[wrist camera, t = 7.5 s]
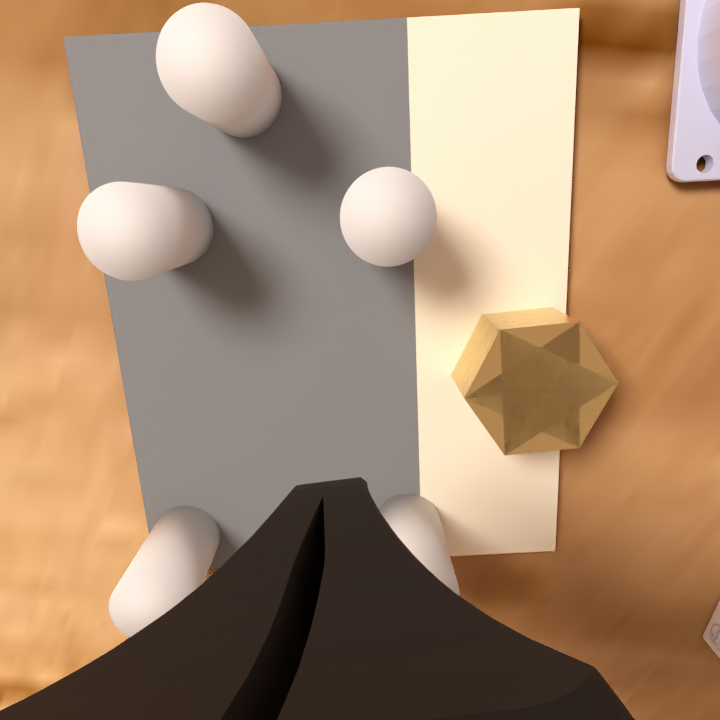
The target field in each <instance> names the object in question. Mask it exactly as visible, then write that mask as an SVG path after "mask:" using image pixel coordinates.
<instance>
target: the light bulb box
mask: <svg viewBox="0 0 720 720" xmlns="http://www.w3.org/2000/svg"><path fill="white" fill-rule="evenodd" d="M702 637H703V639H704V640H705V642H706V643H707V644H708V645H709V647H710V648H711V649H712V650H713V652H714V653H715V654H716V655H717V656H718V657H719V659H720V600H719V602H718V604H717V606H716V608H715V610H714V613H713V615H712V617H711V619H710V621H709V623H708V625H707V627H706V629H705V631H704V634H703V636H702Z"/></svg>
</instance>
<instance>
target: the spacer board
mask: <svg viewBox="0 0 720 720" xmlns="http://www.w3.org/2000/svg"><path fill="white" fill-rule="evenodd" d="M579 9H580V8H571V9H553V10H536V11H518V12H500V13H482V14H465V15H447V16H429V17H411V18H393V19H376V20H358V21H340V22H322V23H304V24H287V25H269V26H251V27H248V26H247V24H246V23H245V22H244V21H243V20H242V19H241V18H240V17H239V16H238V15H237V14H235V13H234V12H232V11H231V10H229V9H227V8H225V7H223V6H220V5H217V4H212V3H197V4H192V5H189V6H186V7H184V8H182V9H180V10H179V11H177V12H176V13H175V14H174V15H173V16H171V17H170V19H169V20H168V21H167V22H166V24H165V25H164V27H163V28H162V31H161V32H144V33H127V34H109V35H91V36H73V37H63V39H64V44H65V50H66V56H67V62H68V68H69V73H70V79H71V85H72V91H73V97H74V102H75V108H76V114H77V120H78V126H79V131H80V137H81V143H82V149H83V154H84V160H85V166H86V172H87V178H88V183H89V189H90V194H89V195H88V197H87V198H86V199H85V201H84V202H83V204H82V206H81V208H80V211H79V214H78V220H77V232H78V237H79V241H80V244H81V247H82V249H83V251H84V253H85V254H86V256H87V257H88V259H89V260H90V261H91V262H92V263H93V264H94V265H95V266H96V267H97V268H98V269H99V270H101V271H102V272H103V273H104V276H105V282H106V288H107V293H108V299H109V305H110V311H111V317H112V322H113V328H114V334H115V340H116V345H117V351H118V357H119V363H120V369H121V374H122V380H123V386H124V392H125V398H126V403H127V409H128V415H129V421H130V426H131V432H132V438H133V444H134V450H135V455H136V461H137V467H138V473H139V479H140V484H141V490H142V496H143V502H144V508H145V513H146V519H147V525H148V531H149V535H148V537H147V538H146V540H145V541H144V543H143V545H142V546H141V548H140V549H139V551H138V553H137V554H136V556H135V557H134V559H133V561H132V562H131V564H130V565H129V567H128V569H127V570H126V572H125V573H124V575H123V577H122V578H121V580H120V581H119V583H118V585H117V586H116V588H115V589H114V591H113V593H112V595H111V597H110V601H109V612H110V616H111V618H112V621H113V622H114V624H115V625H116V627H117V628H118V629H119V630H120V631H121V632H122V633H124V634H125V635H126V636H128V637H131V636H133V635H134V634H136V633H137V632H139V631H140V630H142V629H143V628H144V627H146V626H147V625H149V624H150V623H152V622H153V621H155V620H156V619H158V618H159V617H161V616H162V615H163V614H165V613H166V612H168V611H169V610H170V609H172V608H173V607H174V606H176V605H177V604H178V603H179V602H180V601H182V600H183V599H184V598H185V597H187V596H188V595H189V594H190V593H192V592H193V591H194V590H195V589H197V588H198V587H199V586H200V585H201V584H203V583H204V581H205V578H206V576H207V573H208V571H209V569H219V568H220V567H221V566H222V565H223V564H224V563H225V562H226V561H227V560H228V559H229V558H230V557H231V556H232V555H233V554H234V553H235V552H236V551H237V550H238V549H239V548H240V547H241V546H242V545H243V544H245V543H246V542H247V541H248V540H249V539H250V537H251V536H252V535H253V534H254V533H255V532H256V531H257V530H258V529H259V527H260V526H261V525H262V524H263V523H264V522H265V521H266V520H267V519H268V517H269V516H270V515H271V514H272V513H273V512H274V511H275V509H276V508H277V507H278V506H279V505H280V503H281V502H282V501H283V500H284V499H285V498H286V496H287V495H288V494H289V493H290V492H291V491H292V489H293V488H294V487H295V486H296V485H301V484H309V483H317V482H325V481H333V480H341V479H349V478H357V477H361V478H363V479H364V480H365V481H366V482H367V484H368V489H369V492H370V494H371V497H372V499H373V500H374V502H375V504H376V506H377V508H378V509H379V511H380V512H381V514H382V516H383V517H384V518H385V520H386V521H387V523H388V524H389V525H390V527H391V528H392V530H393V531H394V532H395V534H396V535H397V536H398V537H399V539H400V540H401V541H402V542H403V543H404V544H405V546H406V547H407V548H408V549H409V550H410V551H411V552H412V554H413V555H414V556H415V557H416V558H417V559H418V560H419V561H420V562H421V563H422V564H423V565H424V566H425V567H426V568H427V569H428V570H429V571H430V572H431V573H433V574H434V575H435V576H436V577H437V578H438V579H439V580H440V581H441V582H443V583H444V584H445V585H446V586H447V587H449V588H450V589H451V590H452V591H454V592H455V593H456V594H457V595H458V596H460V591H459V586H458V582H457V578H456V575H455V571H454V568H453V564H452V560H451V557H450V556H467V555H486V554H504V553H523V552H542V551H555V547H556V525H557V502H558V480H559V458H560V450H556V451H546V452H536V453H526V454H516V455H506V456H505V455H504V454H503V452H502V451H501V450H500V448H499V447H498V445H497V444H496V443H495V441H494V440H493V438H492V437H491V436H490V434H489V433H488V431H487V430H486V429H485V427H484V426H483V424H482V423H481V422H480V420H479V419H478V417H477V416H476V415H475V413H474V412H473V410H472V409H471V408H470V406H469V405H468V403H467V402H466V401H465V399H464V398H463V396H462V394H461V392H460V391H459V389H458V387H457V385H456V384H455V382H454V380H453V378H452V377H451V374H452V372H453V370H454V368H455V366H456V364H457V362H458V360H459V358H460V356H461V354H462V352H463V350H464V348H465V346H466V344H467V342H468V340H469V338H470V336H471V334H472V333H473V331H474V329H475V327H476V325H477V323H478V321H479V319H480V317H481V315H482V314H489V313H499V312H508V311H518V310H528V309H537V308H547V307H552V308H554V309H556V310H558V311H560V312H562V313H564V314H566V300H567V278H568V255H569V233H570V211H571V188H572V166H573V143H574V121H575V98H576V76H577V53H578V31H579Z"/></svg>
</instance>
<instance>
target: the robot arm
mask: <svg viewBox="0 0 720 720" xmlns="http://www.w3.org/2000/svg"><path fill="white" fill-rule="evenodd" d="M701 156H702V157H703V158H704V159H705V162H706V165H705V168H704V170H703V171H702V172H699V171H698V170H697V167H696V163H697V160H698V159H699V158H700V157H701ZM666 169H667V174H668V176H669V177H670V178H671V179H672V180H673V181H676V182H695V181H713V180H720V0H681V1H680V13H679V25H678V36H677V48H676V59H675V71H674V83H673V94H672V106H671V117H670V129H669V140H668V152H667V164H666ZM0 720H634V718H633V717H632V716H631V714H630V713H629V711H628V710H627V709H626V707H625V706H624V704H623V703H622V702H621V700H620V699H619V698H618V697H617V695H616V694H615V693H614V691H613V690H612V689H611V687H610V686H609V685H608V683H607V682H606V681H605V679H604V678H603V677H602V676H601V674H600V673H599V672H598V671H597V670H596V669H595V668H594V667H593V666H591V665H588V664H586V663H584V662H581V661H579V660H577V659H575V658H572V657H570V656H568V655H565V654H563V653H561V652H559V651H556V650H554V649H552V648H549V647H547V646H545V645H543V644H540V643H538V642H536V641H533V640H531V639H529V638H527V637H525V636H523V635H521V634H520V633H518V632H516V631H514V630H512V629H511V628H509V627H507V626H505V625H503V624H502V623H500V622H498V621H496V620H494V619H493V618H491V617H489V616H488V615H486V614H485V613H483V612H482V611H480V610H479V609H477V608H476V607H475V606H473V605H472V604H470V603H469V602H467V601H466V600H464V599H463V598H461V597H460V596H458V595H457V594H456V593H455V592H454V591H452V590H451V589H450V588H449V587H447V586H446V585H445V584H444V583H443V582H441V581H440V580H439V579H438V578H437V577H436V576H435V575H434V574H433V573H431V572H430V571H429V570H428V569H427V568H426V567H425V566H424V565H423V564H422V563H421V562H420V561H419V560H418V559H417V558H416V557H415V556H414V555H413V554H412V552H411V551H410V550H409V549H408V548H407V547H406V546H405V544H404V543H403V542H402V541H401V540H400V539H399V537H398V536H397V535H396V534H395V532H394V531H393V530H392V528H391V527H390V525H389V524H388V523H387V521H386V520H385V518H384V517H383V516H382V514H381V512H380V511H379V509H378V508H377V506H376V504H375V502H374V500H373V499H372V497H371V494H370V492H369V489H368V484H367V482H366V481H365V480H364V479H363V478H361V477H357V478H349V479H341V480H333V481H325V482H317V483H309V484H301V485H296V486H295V487H294V488H293V489H292V491H291V492H290V493H289V494H288V495H287V496H286V498H285V499H284V500H283V501H282V502H281V503H280V505H279V506H278V507H277V508H276V509H275V511H274V512H273V513H272V514H271V515H270V516H269V517H268V519H267V520H266V521H265V522H264V523H263V524H262V525H261V526H260V527H259V529H258V530H257V531H256V532H255V533H254V534H253V535H252V536H251V537H250V539H249V540H248V541H247V542H246V543H245V544H243V545H242V546H241V547H240V548H239V549H238V550H237V551H236V552H235V553H234V554H233V555H232V556H231V557H230V558H229V559H228V560H227V561H226V562H225V563H224V564H223V565H222V566H221V567H220V568H219V569H218V570H217V571H216V572H215V573H214V574H213V575H212V576H211V577H209V578H208V579H207V580H206V581H205V582H204V583H203V584H201V585H200V586H199V587H198V588H197V589H195V590H194V591H193V592H192V593H190V594H189V595H188V596H187V597H185V598H184V599H183V600H182V601H180V602H179V603H178V604H177V605H176V606H174V607H173V608H172V609H170V610H169V611H168V612H166V613H165V614H163V615H162V616H161V617H159V618H158V619H156V620H155V621H153V622H152V623H150V624H149V625H147V626H146V627H144V628H143V629H142V630H140V631H139V632H137V633H136V634H134V635H133V636H131V637H130V638H128V639H127V640H125V641H124V642H123V643H121V644H120V645H118V646H117V647H115V648H114V649H112V650H110V651H109V652H107V653H106V654H104V655H102V656H100V657H99V658H97V659H95V660H94V661H92V662H90V663H89V664H87V665H85V666H84V667H82V668H80V669H79V670H77V671H75V672H73V673H72V674H70V675H68V676H66V677H64V678H63V679H61V680H59V681H57V682H55V683H54V684H52V685H50V686H48V687H46V688H45V689H43V690H41V691H39V692H37V693H35V694H33V695H31V696H29V697H27V698H25V699H24V700H22V701H19V702H17V703H15V704H13V705H11V706H9V707H7V708H5V709H3V710H1V711H0Z"/></svg>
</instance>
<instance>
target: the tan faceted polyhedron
mask: <svg viewBox="0 0 720 720" xmlns="http://www.w3.org/2000/svg"><path fill="white" fill-rule="evenodd" d="M451 377H452V378H453V380H454V382H455V384H456V385H457V387H458V389H459V391H460V392H461V394H462V396H463V398H464V399H465V401H466V402H467V403H468V405H469V406H470V408H471V409H472V410H473V412H474V413H475V415H476V416H477V417H478V419H479V420H480V422H481V423H482V424H483V426H484V427H485V429H486V430H487V431H488V433H489V434H490V436H491V437H492V438H493V440H494V441H495V443H496V444H497V445H498V447H499V448H500V450H501V451H502V452H503V454H504V455H505V456H506V455H516V454H526V453H536V452H546V451H556V450H566V449H576V448H580V447H581V445H582V443H583V442H584V440H585V438H586V437H587V435H588V433H589V432H590V430H591V428H592V426H593V425H594V423H595V421H596V420H597V418H598V416H599V415H600V413H601V411H602V410H603V408H604V406H605V405H606V403H607V401H608V400H609V398H610V396H611V394H612V393H613V391H614V389H615V388H616V386H617V384H618V382H617V380H616V378H615V377H614V375H613V374H612V372H611V370H610V369H609V367H608V366H607V364H606V362H605V361H604V359H603V358H602V356H601V354H600V353H599V351H598V350H597V348H596V347H595V345H594V343H593V342H592V340H591V339H590V337H589V335H588V334H587V332H586V331H585V329H584V327H583V326H582V324H581V323H580V321H578V320H576V319H574V318H572V317H570V316H568V315H566V314H564V313H562V312H560V311H558V310H556V309H554V308H552V307H547V308H537V309H528V310H518V311H508V312H499V313H489V314H482V315H481V317H480V319H479V321H478V323H477V325H476V327H475V329H474V331H473V333H472V334H471V336H470V338H469V340H468V342H467V344H466V346H465V348H464V350H463V352H462V354H461V356H460V358H459V360H458V362H457V364H456V366H455V368H454V370H453V372H452V374H451Z"/></svg>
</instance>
